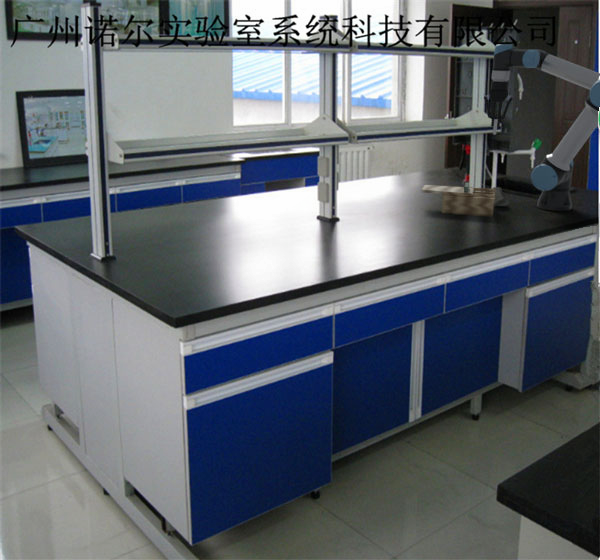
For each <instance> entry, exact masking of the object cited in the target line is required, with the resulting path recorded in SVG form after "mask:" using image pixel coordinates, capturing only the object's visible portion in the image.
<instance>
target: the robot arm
mask: <svg viewBox="0 0 600 560" xmlns="http://www.w3.org/2000/svg"><path fill="white" fill-rule="evenodd" d="M493 52H494V53H493V63H492V70H491V72H492V73H491V82H490V83H491V84H490V90H489V93H488V94H487V95H484V96H483V99H484V101H485V106H486V112H487V118H488V119H491V125H490V126H491V128H492V127H493V129H492V135H497V132H498V131H497V129H498V128H500V126H501V121H502V120H503V119H505V118H506V115H507V112H508V109H509V107H510V105H511V102H512V101H513V100H514V97H513V96H511V95H509V80H510V73H511V68H522V69H523V68H524V69H533V68H534V69H537V70H539V71H541V72H544V73H547V74H549V75H552V76H555V77H557V78H560V79H563V80H564V81H567V82H570V83H572V84H574V85H577V86H579V87H582V88H584V89H587V90H589V95H588V96H587V97H586V99H585V100H584V104H585V105H584V106H585V107H584V108H583V109H582V111H581V112H580V114H579V115H578V117H577V118H576V119H575V121H574V122H573V124H572V125H571V126H570V127H569V129H568V131H567V132H566V134H565V135H564V136H563V137H562V139H561V140H560V142H559V143H558V145H557V146H556V147H555V148H554V150H553V152H552V153H549V154H546V156H544V158H543V159H542V161H541V162H540V164H538V165H537V166H536V167H534V168H533V170H532V171H531V175H530V179H531V182H532V185H533V187H535V188H536V189H538V190H539V191H541V194H540V195H539V198H538V200H537V201H536V202H537V204H536V207H537V208H539V209H543V210H548V211H554V212H567V211H571V210H572V208H573V203H572V198H571V197H572V196H571V194H570V192H571V191H570V190H571V185H572V177H573V170H574V158H575V157H576V155H577V154H578V153H579V151H580V150H582V148H583V146H584V144H586V142H587V140H588V139H589V138H590V137H591V135H592V134H593V132H594V131H595V129H596V128H597V127H598V126H599V124H598V111H599V107H600V72H597V71H594V70H592V69H591V68H587V67H585V66H581V65H579V64H576V63H573V62H570V60H569V61H568V60H566V59H563V58H561V57H558V56H555V55H554V54H553V55H552V54H550V53H548V52H546V51H545V50H542V49H532V48H531V49H515V48H513V44H506V43H505V44H502V43H501V44H500V43H499V44H496V45H495V46H494V51H493ZM490 99H491V101H492V102H493V103H492V112H491V109H490V102H489V100H490ZM505 100H506V101H507V102H506V104H505V108H504V110H503V112H502V106H503V102H504V101H505ZM497 103H498V111H497V112H498V113H497V119H495V118H496V109H497Z"/></svg>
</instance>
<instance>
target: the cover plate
mask: <svg viewBox="0 0 600 560" xmlns="http://www.w3.org/2000/svg"><path fill="white" fill-rule="evenodd" d="M448 186H449V185H435V184H434V185H432V184H424V185H423V187H422V188H421V193H426V194H439V195H443V191H446V192H460V193H473V191H474V188H475V187H472V188H469V187H470V182H465V183H464V186H457V187H448ZM463 187H464V188H463Z"/></svg>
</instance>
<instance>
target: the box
mask: <svg viewBox="0 0 600 560" xmlns="http://www.w3.org/2000/svg"><path fill="white" fill-rule="evenodd" d="M447 186H448V187H458V186H455V185H447ZM462 187H463V188H464V186H462ZM469 188H474V191H473V193H460V192H446V191H443V194H442V201H441V214H450V213H452V215H464V216H475V217H476V216H477V217H491V218H493V216H494V207H495V206H494V199H495V193H493V192H495V189H491V188H483V187H470V186H469Z"/></svg>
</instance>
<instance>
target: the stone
mask: <svg viewBox="0 0 600 560" xmlns="http://www.w3.org/2000/svg"><path fill="white" fill-rule="evenodd" d="M490 189H495V192H493V193H495V199H494V207H506V206H507V205H508V204H509V203H510V202H509V200H508V197H507V196H506V193H504V192H503V190H502V187H501V186H499V187H498V186H496V187H495V186H494V187H491V188H490Z"/></svg>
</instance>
